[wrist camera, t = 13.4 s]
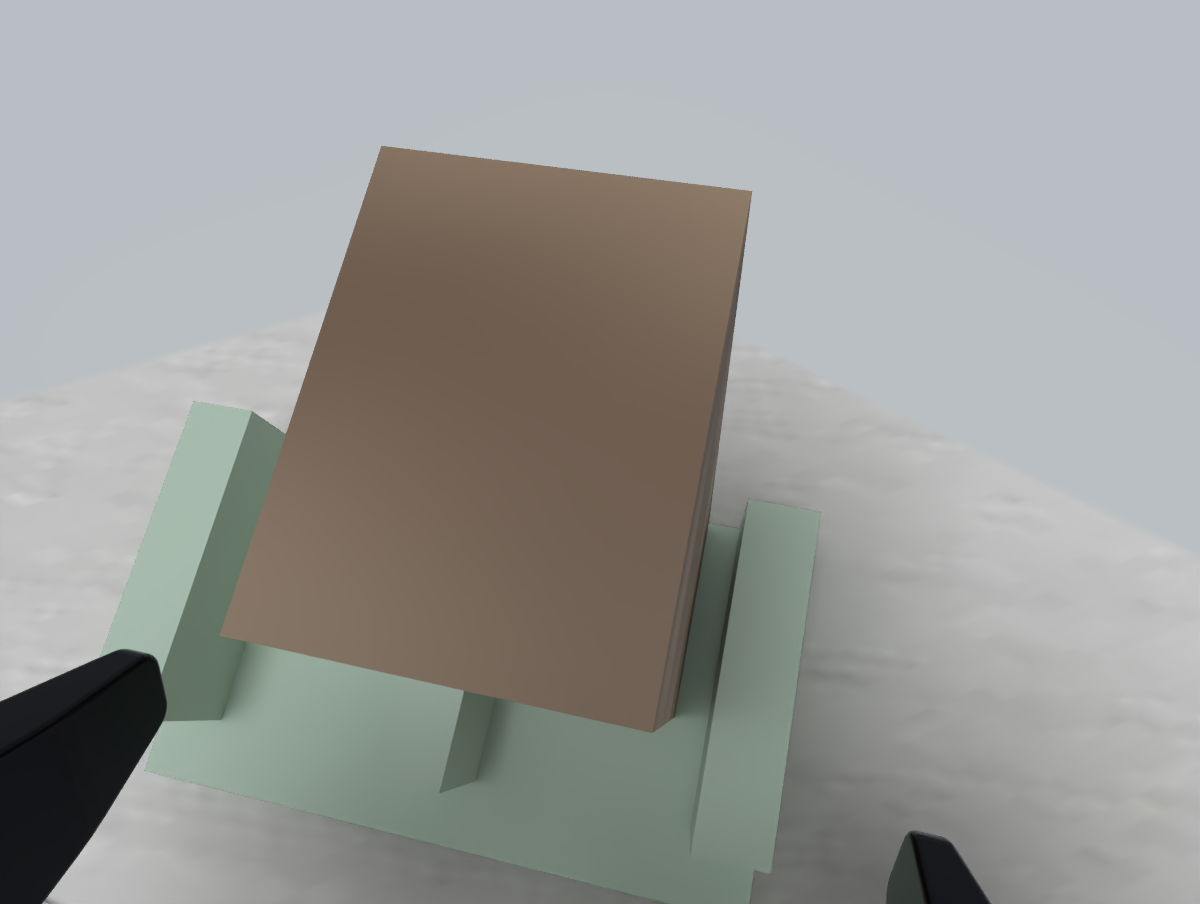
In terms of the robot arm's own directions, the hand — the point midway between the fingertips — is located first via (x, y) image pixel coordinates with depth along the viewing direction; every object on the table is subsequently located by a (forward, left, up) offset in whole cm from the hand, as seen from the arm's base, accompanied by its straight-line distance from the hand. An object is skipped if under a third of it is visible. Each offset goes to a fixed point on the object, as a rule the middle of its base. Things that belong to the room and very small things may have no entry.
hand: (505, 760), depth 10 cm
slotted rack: (+2, +2, -11) cm, 12 cm away
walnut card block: (+3, -1, -10) cm, 11 cm away
